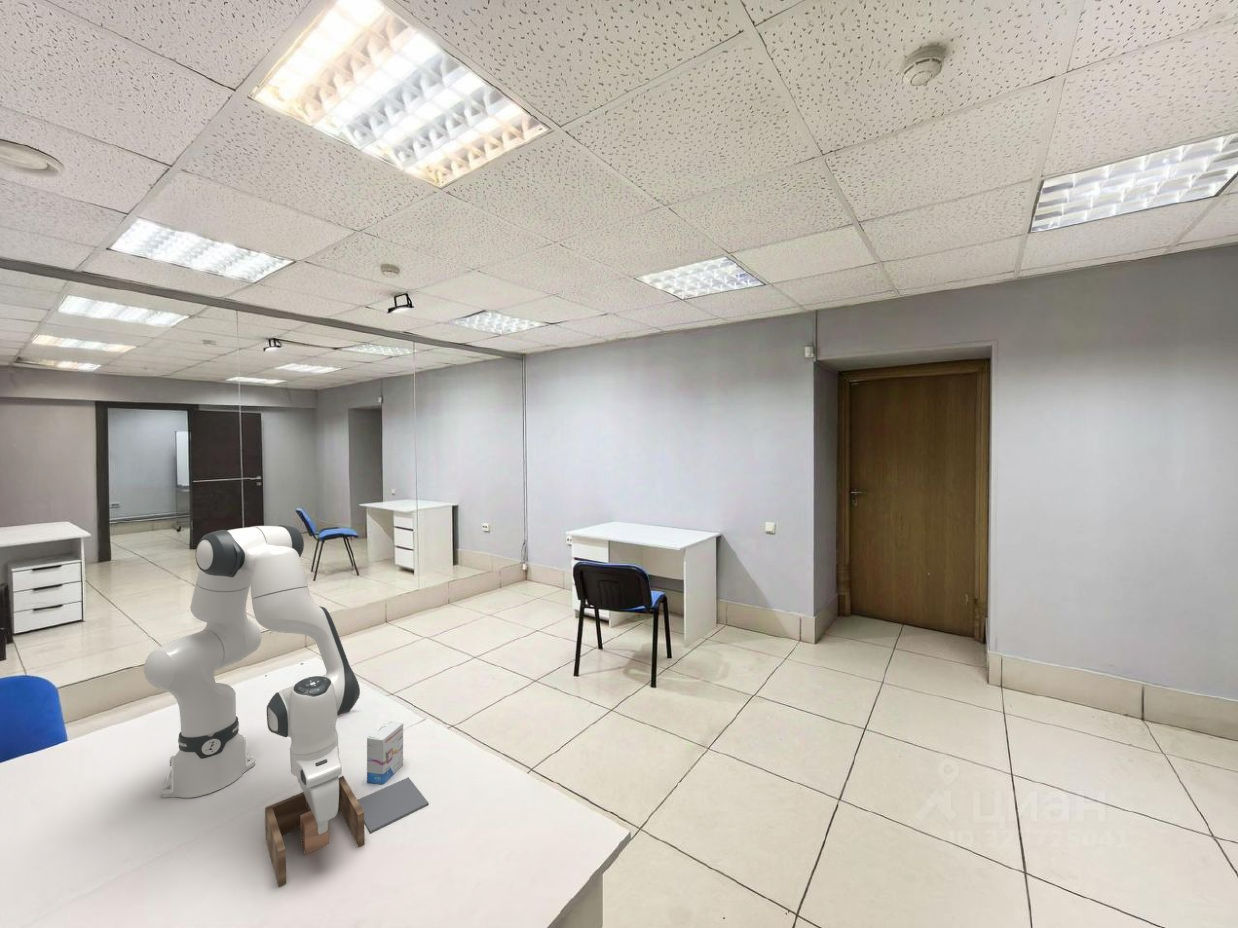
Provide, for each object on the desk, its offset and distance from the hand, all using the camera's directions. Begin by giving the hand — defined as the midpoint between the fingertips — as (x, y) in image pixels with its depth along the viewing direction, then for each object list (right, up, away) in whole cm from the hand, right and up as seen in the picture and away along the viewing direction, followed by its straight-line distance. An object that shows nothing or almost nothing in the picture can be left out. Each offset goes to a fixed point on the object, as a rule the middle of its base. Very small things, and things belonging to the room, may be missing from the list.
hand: (316, 819), depth 107 cm
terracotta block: (0, -5, 0) cm, 5 cm away
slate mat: (+11, -5, +12) cm, 16 cm away
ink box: (+4, -5, +23) cm, 24 cm away
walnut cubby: (0, -5, 0) cm, 5 cm away
